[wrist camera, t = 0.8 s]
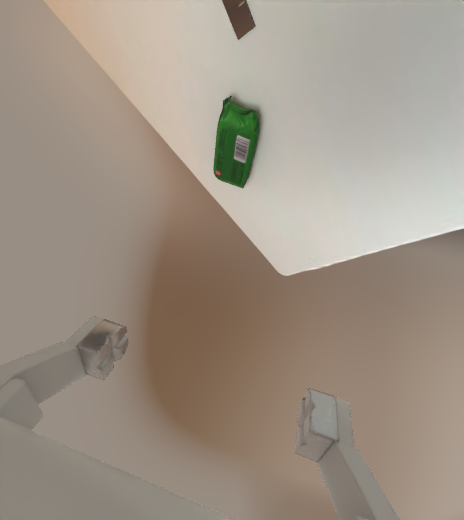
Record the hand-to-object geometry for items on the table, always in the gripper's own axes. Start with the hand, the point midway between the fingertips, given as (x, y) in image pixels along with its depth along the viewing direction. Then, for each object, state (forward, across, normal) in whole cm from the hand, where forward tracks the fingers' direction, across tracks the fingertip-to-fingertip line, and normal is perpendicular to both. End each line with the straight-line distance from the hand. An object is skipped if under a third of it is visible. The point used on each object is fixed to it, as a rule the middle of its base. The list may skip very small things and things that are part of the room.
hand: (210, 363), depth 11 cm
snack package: (+46, +11, -1) cm, 47 cm away
